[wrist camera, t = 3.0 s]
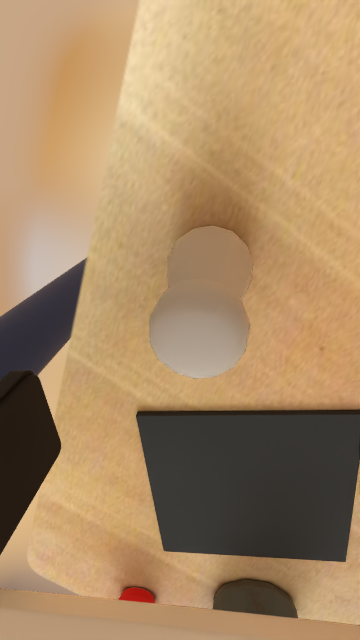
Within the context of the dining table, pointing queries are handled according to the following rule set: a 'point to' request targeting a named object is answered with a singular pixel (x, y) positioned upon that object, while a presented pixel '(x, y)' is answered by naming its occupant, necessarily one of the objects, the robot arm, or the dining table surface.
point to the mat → (253, 481)
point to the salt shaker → (203, 304)
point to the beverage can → (137, 595)
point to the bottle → (254, 599)
